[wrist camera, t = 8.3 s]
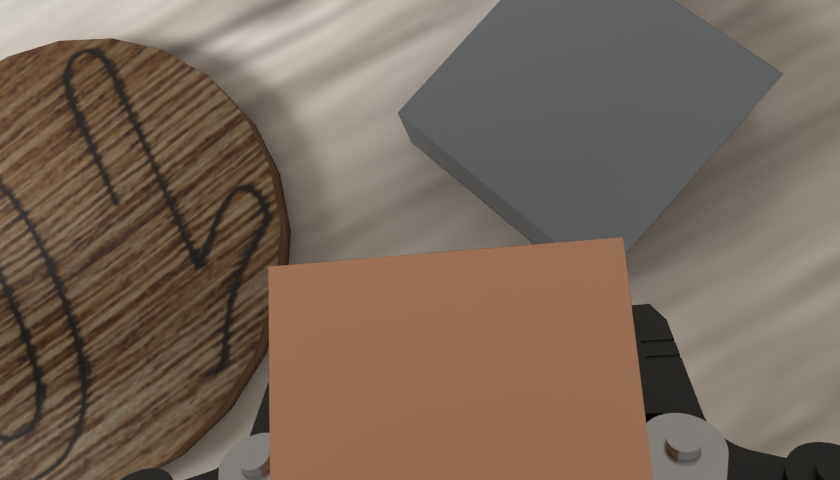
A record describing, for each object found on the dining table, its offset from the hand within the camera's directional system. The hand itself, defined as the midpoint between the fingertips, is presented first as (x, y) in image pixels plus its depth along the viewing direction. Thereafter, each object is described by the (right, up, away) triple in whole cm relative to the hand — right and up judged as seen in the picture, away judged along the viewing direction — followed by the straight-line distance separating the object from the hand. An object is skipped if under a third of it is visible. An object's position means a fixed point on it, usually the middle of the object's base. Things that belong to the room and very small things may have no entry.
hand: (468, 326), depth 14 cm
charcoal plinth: (+7, +8, +19) cm, 22 cm away
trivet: (-20, +1, +22) cm, 30 cm away
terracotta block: (+1, -3, +4) cm, 5 cm away
